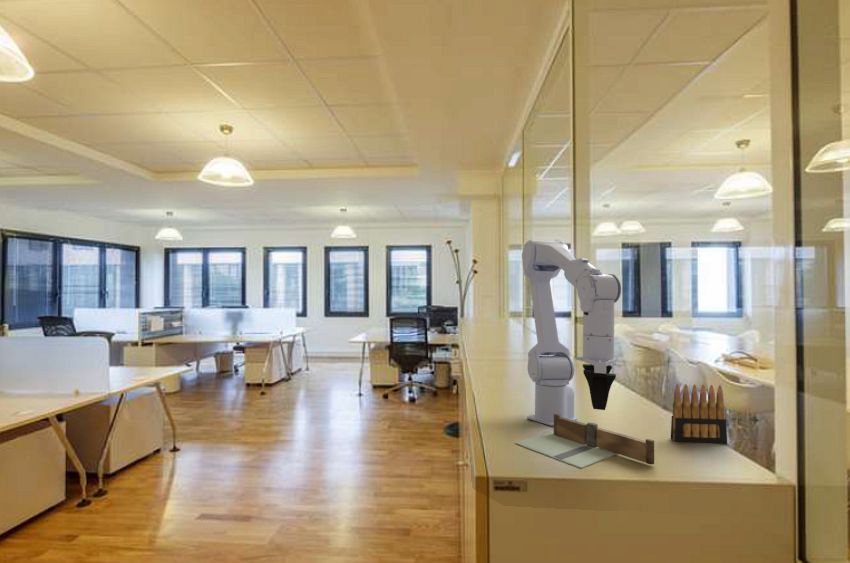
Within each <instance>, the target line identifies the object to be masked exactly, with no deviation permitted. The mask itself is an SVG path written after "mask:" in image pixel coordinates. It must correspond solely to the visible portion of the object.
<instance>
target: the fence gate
mask: <svg viewBox="0 0 850 563" xmlns="http://www.w3.org/2000/svg"><path fill="white" fill-rule="evenodd" d="M596 447H598V448H601V449H605V450H608V451H611V452H614V453H617V455H620V456H623V457H626V458H630V459H632V460H636V461H640V462H642V463H646V464H647V465H655V440H654V439H651V438H646V439H645V440H644V439H641V438H636V437H633V436H630V435H627V434H623V433H619V432H616V431H612V430H609V429H606V428H602V427H598V429H597V442H596Z"/></svg>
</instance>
